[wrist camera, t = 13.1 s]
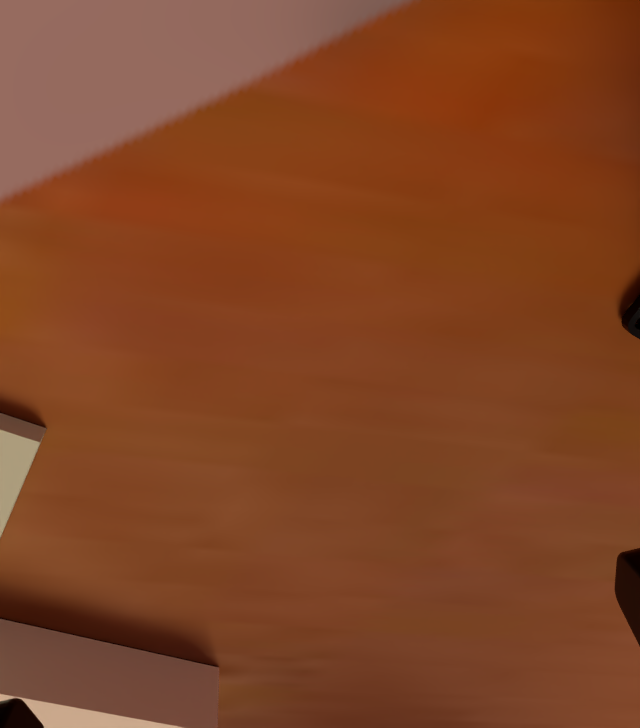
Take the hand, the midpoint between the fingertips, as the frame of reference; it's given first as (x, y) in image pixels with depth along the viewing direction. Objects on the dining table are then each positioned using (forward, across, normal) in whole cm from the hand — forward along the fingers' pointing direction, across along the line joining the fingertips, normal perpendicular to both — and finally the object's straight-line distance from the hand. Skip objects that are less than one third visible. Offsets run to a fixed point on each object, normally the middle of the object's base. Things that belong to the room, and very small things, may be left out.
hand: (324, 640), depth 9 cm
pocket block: (+12, +14, +18) cm, 26 cm away
